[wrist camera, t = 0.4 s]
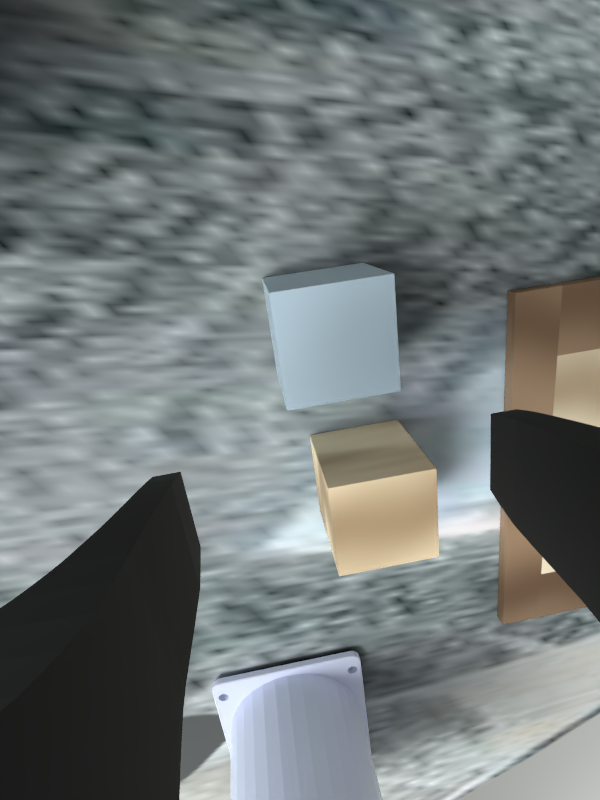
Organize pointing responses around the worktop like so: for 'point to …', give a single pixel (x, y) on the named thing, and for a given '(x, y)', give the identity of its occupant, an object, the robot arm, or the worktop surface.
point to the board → (553, 395)
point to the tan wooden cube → (376, 496)
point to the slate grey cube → (334, 334)
